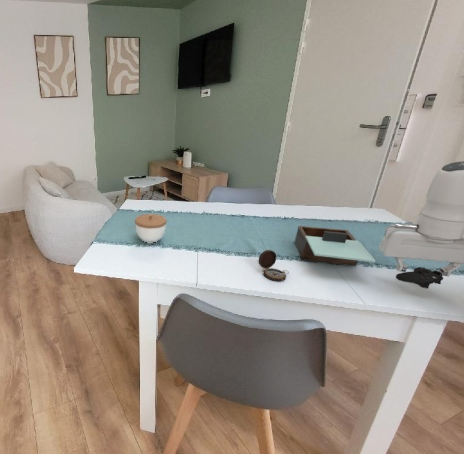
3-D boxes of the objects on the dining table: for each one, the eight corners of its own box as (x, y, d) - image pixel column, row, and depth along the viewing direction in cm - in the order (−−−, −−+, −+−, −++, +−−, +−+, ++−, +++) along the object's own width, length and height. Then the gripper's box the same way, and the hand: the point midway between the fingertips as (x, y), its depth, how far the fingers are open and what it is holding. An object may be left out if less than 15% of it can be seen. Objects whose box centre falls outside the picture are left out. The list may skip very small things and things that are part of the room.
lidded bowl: (132, 234, 126) (132, 211, 121) (160, 232, 127) (161, 208, 122) (138, 247, 114) (138, 222, 110) (169, 244, 115) (171, 219, 111)
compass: (273, 283, 88) (278, 262, 85) (255, 270, 95) (258, 250, 92) (295, 278, 90) (300, 258, 87) (276, 266, 97) (280, 246, 94)
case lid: (357, 242, 94) (361, 232, 93) (375, 262, 83) (379, 251, 81) (305, 237, 100) (307, 227, 98) (314, 255, 88) (317, 244, 87)
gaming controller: (414, 267, 85) (439, 262, 79) (426, 285, 83) (452, 280, 77) (392, 275, 82) (416, 269, 77) (403, 293, 80) (429, 289, 75)
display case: (342, 247, 106) (347, 230, 104) (355, 266, 94) (362, 247, 92) (294, 242, 112) (298, 225, 109) (301, 259, 100) (306, 241, 97)
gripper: (393, 227, 75) (377, 273, 81) (507, 235, 68) (481, 285, 73) (383, 218, 81) (369, 262, 86) (487, 224, 73) (465, 272, 78)
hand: (421, 272), depth 79 cm, fingers closed on gaming controller, 7 cm apart
